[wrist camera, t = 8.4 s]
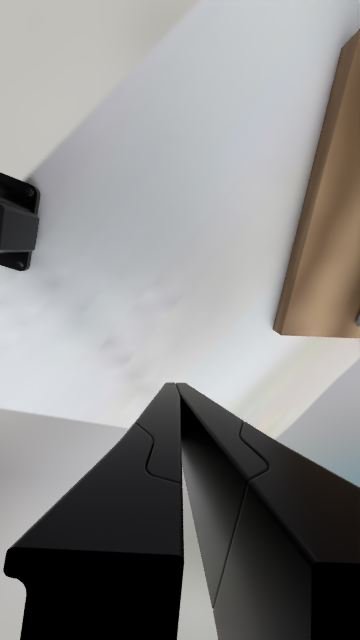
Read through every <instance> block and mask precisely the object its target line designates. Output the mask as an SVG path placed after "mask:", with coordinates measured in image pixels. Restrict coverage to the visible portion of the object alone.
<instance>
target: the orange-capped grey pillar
mask: <svg viewBox="0 0 360 640" xmlns="http://www.w3.org/2000/svg"><path fill="white" fill-rule="evenodd" d="M356 326H359V327H360V315H359V317H358V320H357V323H356Z"/></svg>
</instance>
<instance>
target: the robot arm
mask: <svg viewBox="0 0 360 640" xmlns="http://www.w3.org/2000/svg"><path fill="white" fill-rule="evenodd" d="M31 189H32V190H33V192H34V194H33V195H32V196H30V194H29V191H30V190H31ZM39 200H40V192H39V190H38V189H37V188H36V187H34V186H32V185H31V184H28V183H25V182H23V181H20V180H18V179H15V178H13V177H10V176H8V175H5V174H3V173H0V265H2V266H5V267H8V268H12V269H15V270H18V271H25V270H28V269H29V266H30V260H31V253H32V251H33V250H34V249H35V243H36V237H37V230H38V224H39V218H38V216H37V213H38V206H39ZM20 262H22V263H23V267H21V266H20V264H19V263H20ZM182 467H183V472H184V477H185V481H186V486H187V491H188V496H189V500H190V505H191V509H192V514H193V519H194V524H195V529H196V533H197V538H198V543H199V547H200V552H201V557H202V562H203V566H204V571H205V576H206V581H207V585H208V590H209V595H210V600H211V604H212V608H213V609H214V610H213V613H214V618H215V624H216V629H217V634H218V640H360V487H357V486H356V485H354V484H352V483H351V482H349V481H347V480H345V479H344V478H342V477H340V476H338V475H336V474H335V473H333V472H331V471H329V470H327V469H326V468H324V467H322V466H320V465H318V464H317V463H315V462H313V461H311V460H310V459H308V458H306V457H304V456H302V455H300V454H299V453H297V452H295V451H293V450H291V449H290V448H288V447H286V446H284V445H283V444H281V443H279V442H277V441H276V440H274V439H272V438H271V437H269V436H267V435H266V434H264V433H262V432H261V431H259V430H258V429H256V428H254V427H253V426H251V425H250V424H248V423H247V422H244V421H243V420H241V419H240V418H238V417H237V416H235V415H234V414H232V413H231V412H229V411H228V410H226V409H225V408H223V407H222V406H220V405H218V404H217V403H215V402H214V401H212V400H211V399H209V398H208V397H206V396H205V395H203V394H202V393H200V392H199V391H197V390H195V389H194V388H192V387H191V386H189V385H188V384H186V383H176V384H175V383H165V384H164V386H163V387H162V388H161V390H160V391H159V392H158V393H157V395H156V396H155V397H154V399H153V400H152V401H151V402H150V404H149V405H148V406H147V408H146V409H145V410H144V411H143V413H142V414H141V415H140V417H139V418H138V419H137V420H136V422H135V423H134V424H133V425H132V426H131V428H130V429H129V430H128V431H127V433H126V434H125V435H124V436H123V437H122V438H121V440H120V441H119V442H118V443H117V444H116V445H115V446H114V447H113V448H112V449H111V450H110V451H109V452H108V453H107V454H106V455H105V456H104V457H103V458H102V459H101V460H100V461H99V462H98V463H97V464H96V465H95V466H94V467H93V468H92V469H91V470H90V471H89V472H88V473H86V474H85V475H84V476H83V478H81V479H80V480H79V481H78V482H77V483H76V484H75V485H74V486H73V487H72V488H71V489H70V490H69V491H68V492H67V493H66V494H65V495H64V496H63V497H62V498H61V499H60V500H59V501H58V502H57V503H56V504H55V505H54V506H53V507H52V508H50V509H49V511H47V512H46V513H45V514H44V515H43V516H42V517H41V518H40V519H39V520H38V521H37V522H36V523H35V524H34V525H33V526H32V527H31V528H30V529H29V530H28V531H27V532H26V533H25V534H24V535H23V536H22V537H21V538H20V539H19V540H18V541H17V542H15V543H14V544H13V545H12V546H11V547H10V548H9V549H8V550H7V553H6V558H5V563H4V573H5V575H6V576H8V577H11V578H17V579H18V580H20V581H21V582H22V583H23V584H24V586H25V588H26V602H25V609H24V616H23V623H22V630H21V638H20V640H177V631H178V621H179V610H180V600H181V589H182V579H183V578H182V577H183V567H184V540H183V495H182Z"/></svg>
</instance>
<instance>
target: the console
mask: <svg viewBox="0 0 360 640" xmlns="http://www.w3.org/2000/svg"><path fill="white" fill-rule="evenodd" d="M359 315H360V29H359V30H358V31H357V33H356V34H355V35H354V36H353V37H352V38H351V39H350V40H349V41H348V42H347V43H346V44H345V46H344V47H343V48H342V50H341V54H340V58H339V62H338V66H337V70H336V74H335V78H334V82H333V86H332V91H331V95H330V99H329V103H328V107H327V111H326V115H325V119H324V123H323V127H322V131H321V135H320V140H319V144H318V148H317V152H316V156H315V160H314V164H313V168H312V172H311V176H310V180H309V185H308V189H307V193H306V197H305V201H304V205H303V209H302V213H301V217H300V221H299V225H298V229H297V234H296V238H295V242H294V246H293V250H292V254H291V258H290V262H289V266H288V270H287V274H286V278H285V283H284V287H283V291H282V295H281V299H280V303H279V307H278V311H277V315H276V319H275V323H274V327H273V330H274V331H276V332H277V333H279V334H280V335H290V336H315V337H340V338H360V327H359V326H356V323H357V320H358V317H359Z"/></svg>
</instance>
